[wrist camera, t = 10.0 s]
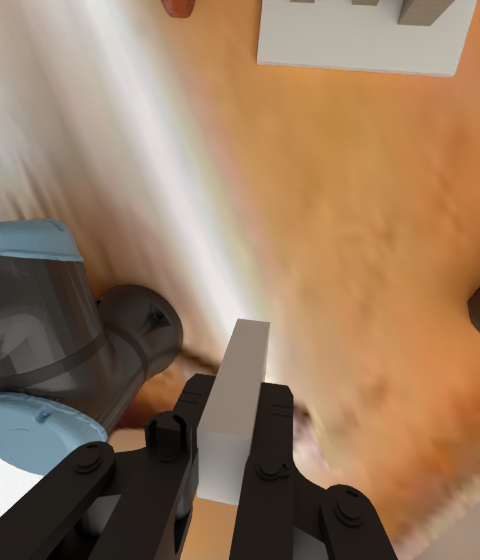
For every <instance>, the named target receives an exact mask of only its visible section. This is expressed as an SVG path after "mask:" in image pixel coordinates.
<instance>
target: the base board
mask: <svg viewBox="0 0 480 560" xmlns="http://www.w3.org/2000/svg"><path fill="white" fill-rule="evenodd" d="M402 3H403V0H379V2H378V4H377V6H369V5H352V0H315V3H299V2H290V0H263V4H262V14H261V24H260V34H259V44H258V54H257V63H258V64H262V65H277V66H291V67H305V68H320V69H334V70H348V71H363V72H377V73H392V74H406V75H420V76H435V77H449V78H450V77H452V76H454V75H455V73H456V69H457V66H458V63H459V59H460V56H461V53H462V49H463V46H464V43H465V39H466V36H467V33H468V29H469V26H470V23H471V19H472V16H473V13H474V9H475V6H476V3H477V0H455V1H454V2H453V3H452V4H451V5H450V6H449V7H448V8H447V9H446V10H445V11H444V12H443V13H442V14H441V15H440V16H439V17H438V19H437V20H436V21H435V22H434V23H433V24H432V25H431V26H413V25H398V20H399V16H400V12H401V7H402Z"/></svg>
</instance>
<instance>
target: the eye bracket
mask: <svg viewBox="0 0 480 560" xmlns="http://www.w3.org/2000/svg"><path fill="white" fill-rule="evenodd" d="M454 1H455V0H403V3H402V7H401V12H400V16H399V20H398V25H413V26H431V25H432V24H433V23H434V22H435V21H436V20H437V19H438V17H439V16H440V15H441V14H442V13H443V12H444V11H445V10H446V9H447V8H448V7H449V6H450V5H451V4H452V3H453V2H454ZM290 2H299V3H315V0H290ZM378 2H379V0H352V5H369V6H377V4H378Z"/></svg>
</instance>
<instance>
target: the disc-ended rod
mask: <svg viewBox="0 0 480 560" xmlns="http://www.w3.org/2000/svg"><path fill="white" fill-rule="evenodd" d="M161 2H162V4H163V7H164V8H165V10H166V12H167V13H168V14H169V15H170V16H171V17H173V18H188V17H189V16H190V15H191V13H192V11H193V8H194V4H195V0H161Z"/></svg>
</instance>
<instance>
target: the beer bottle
mask: <svg viewBox="0 0 480 560" xmlns="http://www.w3.org/2000/svg"><path fill="white" fill-rule="evenodd" d="M468 308H469V313H470V318H471V323H472V324H473V326H474V327H475V328H476V329H477V330H478V331H479V332H480V289H479V290H478V291H477V292H476V293H475V294H474V296H473V297H472V298H471V299H470V300H469V302H468Z"/></svg>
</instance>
